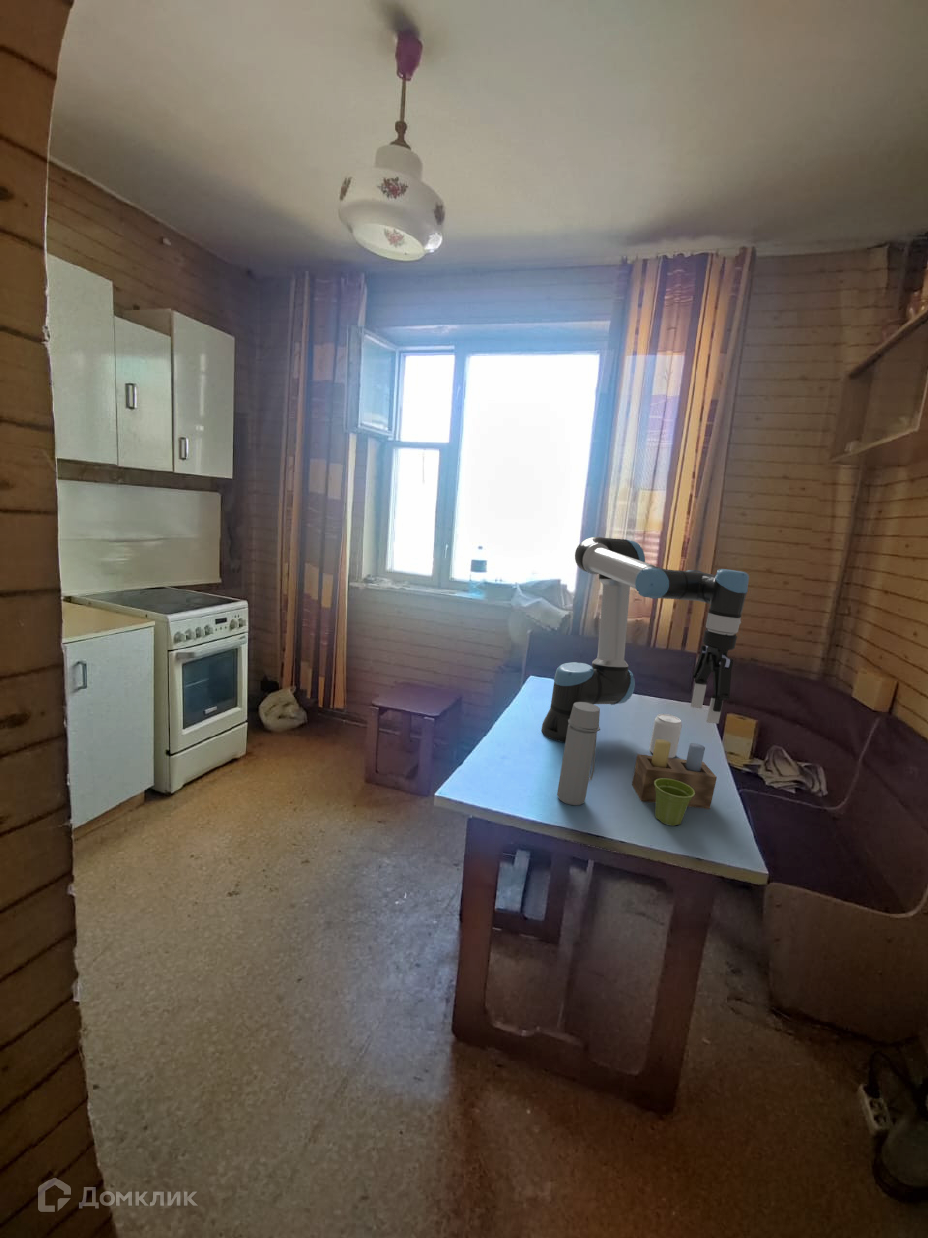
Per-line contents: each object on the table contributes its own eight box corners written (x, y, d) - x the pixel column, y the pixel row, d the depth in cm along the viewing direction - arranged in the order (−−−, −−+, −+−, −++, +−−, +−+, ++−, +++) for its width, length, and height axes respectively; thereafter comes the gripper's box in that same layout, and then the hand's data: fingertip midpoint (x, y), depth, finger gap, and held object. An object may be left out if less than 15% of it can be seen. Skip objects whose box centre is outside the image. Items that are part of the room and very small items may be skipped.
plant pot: (647, 805, 147) (653, 774, 145) (686, 815, 145) (693, 783, 143) (648, 824, 138) (654, 791, 136) (689, 834, 136) (696, 800, 134)
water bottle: (567, 809, 141) (582, 713, 136) (550, 793, 148) (564, 701, 143) (597, 805, 144) (614, 711, 139) (579, 789, 151) (594, 700, 146)
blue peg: (686, 776, 150) (692, 748, 148) (681, 770, 154) (687, 742, 152) (701, 778, 150) (707, 750, 148) (695, 771, 154) (701, 744, 152)
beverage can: (676, 753, 183) (683, 717, 181) (674, 762, 176) (681, 725, 174) (650, 746, 186) (657, 711, 184) (647, 754, 179) (654, 718, 177)
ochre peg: (652, 772, 150) (658, 744, 148) (648, 766, 154) (653, 738, 152) (667, 774, 150) (672, 746, 148) (662, 768, 154) (668, 740, 152)
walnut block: (640, 801, 149) (647, 769, 147) (631, 784, 158) (637, 754, 156) (709, 809, 149) (716, 777, 147) (696, 792, 158) (703, 761, 156)
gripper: (757, 644, 133) (737, 733, 138) (717, 623, 155) (701, 701, 160) (725, 640, 133) (706, 730, 138) (690, 620, 155) (674, 698, 160)
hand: (703, 714), depth 149 cm, fingers open, 10 cm apart
